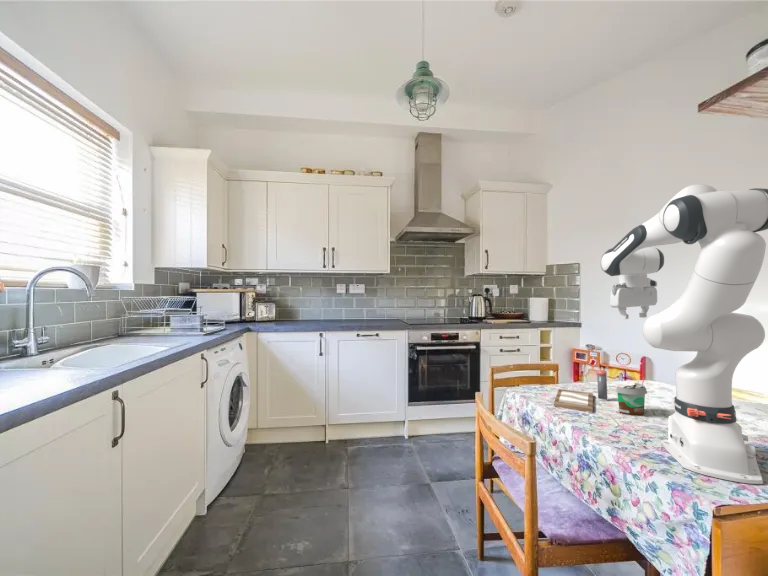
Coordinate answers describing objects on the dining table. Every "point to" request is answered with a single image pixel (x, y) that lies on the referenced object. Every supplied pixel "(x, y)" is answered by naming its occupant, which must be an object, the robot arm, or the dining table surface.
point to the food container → (631, 399)
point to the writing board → (574, 400)
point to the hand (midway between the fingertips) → (634, 318)
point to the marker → (602, 385)
